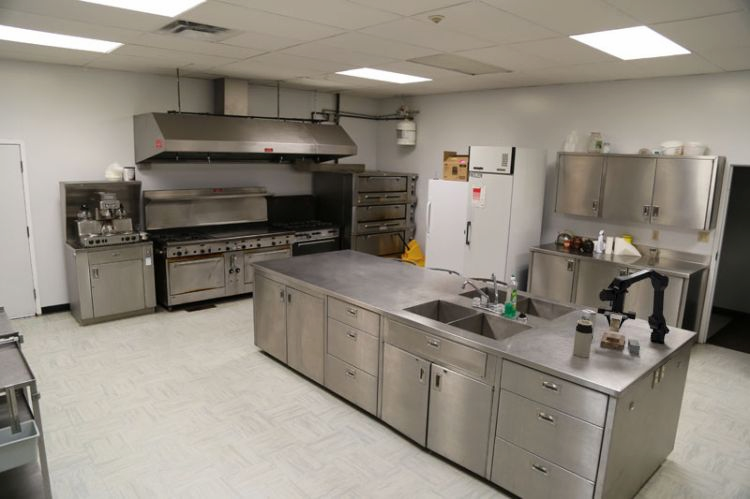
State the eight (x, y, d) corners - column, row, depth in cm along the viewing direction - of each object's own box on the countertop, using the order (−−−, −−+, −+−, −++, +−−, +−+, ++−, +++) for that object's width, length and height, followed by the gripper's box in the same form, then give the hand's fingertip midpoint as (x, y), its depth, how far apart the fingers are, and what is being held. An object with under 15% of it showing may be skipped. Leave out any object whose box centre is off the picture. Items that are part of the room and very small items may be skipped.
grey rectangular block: (636, 349, 266) (637, 340, 265) (638, 355, 258) (640, 346, 257) (627, 347, 268) (628, 339, 267) (629, 353, 260) (630, 344, 259)
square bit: (619, 329, 270) (620, 319, 269) (618, 332, 266) (619, 321, 265) (610, 328, 272) (611, 317, 271) (609, 330, 268) (610, 320, 267)
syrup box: (578, 333, 286) (581, 310, 283) (586, 332, 289) (589, 309, 286) (586, 337, 281) (589, 313, 278) (593, 336, 283) (596, 312, 280)
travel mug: (581, 358, 251) (585, 325, 247) (569, 352, 258) (573, 320, 254) (592, 356, 254) (597, 323, 250) (580, 350, 261) (584, 318, 257)
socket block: (624, 340, 277) (625, 335, 277) (622, 350, 263) (623, 345, 262) (603, 336, 283) (604, 331, 282) (600, 346, 268) (600, 340, 268)
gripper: (638, 299, 268) (634, 326, 271) (601, 294, 277) (598, 320, 280) (637, 305, 259) (633, 332, 262) (598, 298, 268) (595, 325, 271)
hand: (614, 327), depth 269 cm, fingers closed on square bit, 4 cm apart
